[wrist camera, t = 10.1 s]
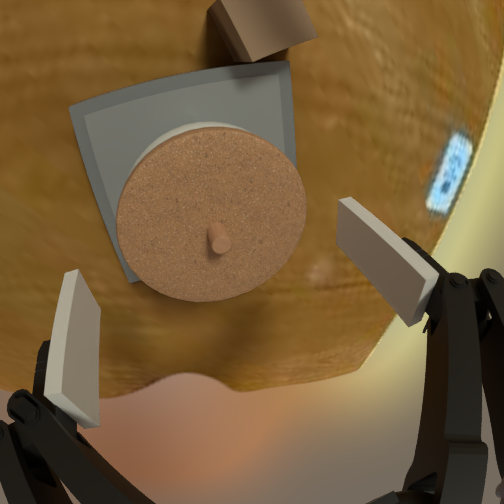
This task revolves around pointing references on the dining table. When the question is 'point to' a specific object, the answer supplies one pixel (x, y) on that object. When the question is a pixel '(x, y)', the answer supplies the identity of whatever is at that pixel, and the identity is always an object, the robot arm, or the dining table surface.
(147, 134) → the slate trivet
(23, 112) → the dining table surface
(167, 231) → the lidded jar
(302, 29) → the walnut block
